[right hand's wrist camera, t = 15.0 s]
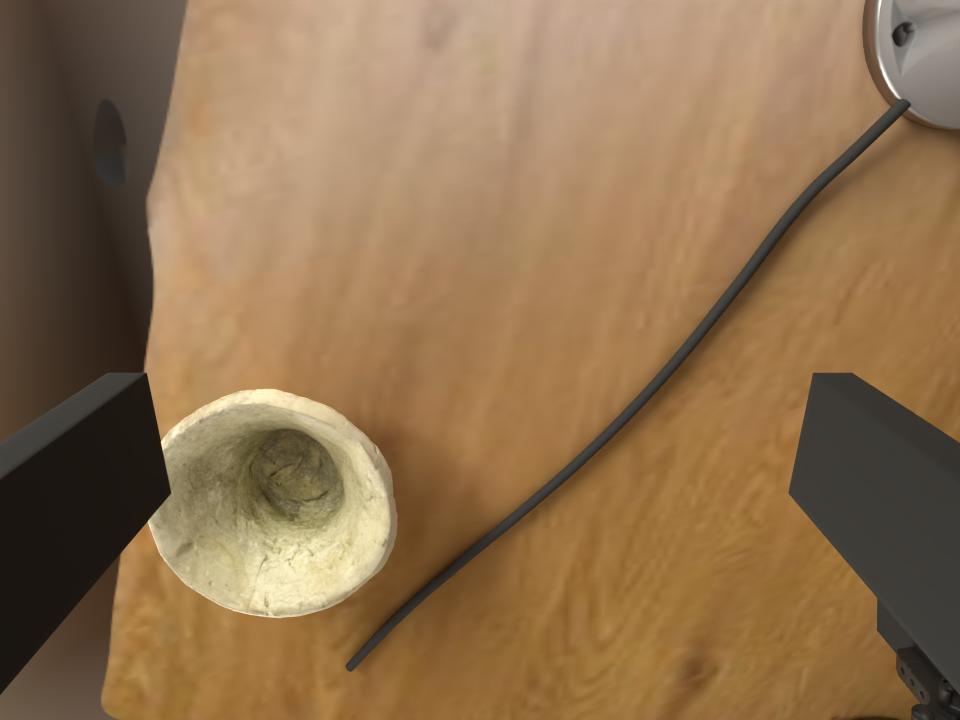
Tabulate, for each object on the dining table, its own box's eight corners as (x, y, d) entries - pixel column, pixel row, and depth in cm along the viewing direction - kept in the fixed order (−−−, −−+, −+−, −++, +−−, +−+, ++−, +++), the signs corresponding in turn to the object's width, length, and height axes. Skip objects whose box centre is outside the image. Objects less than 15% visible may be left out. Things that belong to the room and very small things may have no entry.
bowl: (287, 506, 57) (111, 520, 47) (370, 355, 50) (187, 333, 40) (345, 639, 49) (148, 691, 39) (454, 480, 42) (250, 492, 32)
